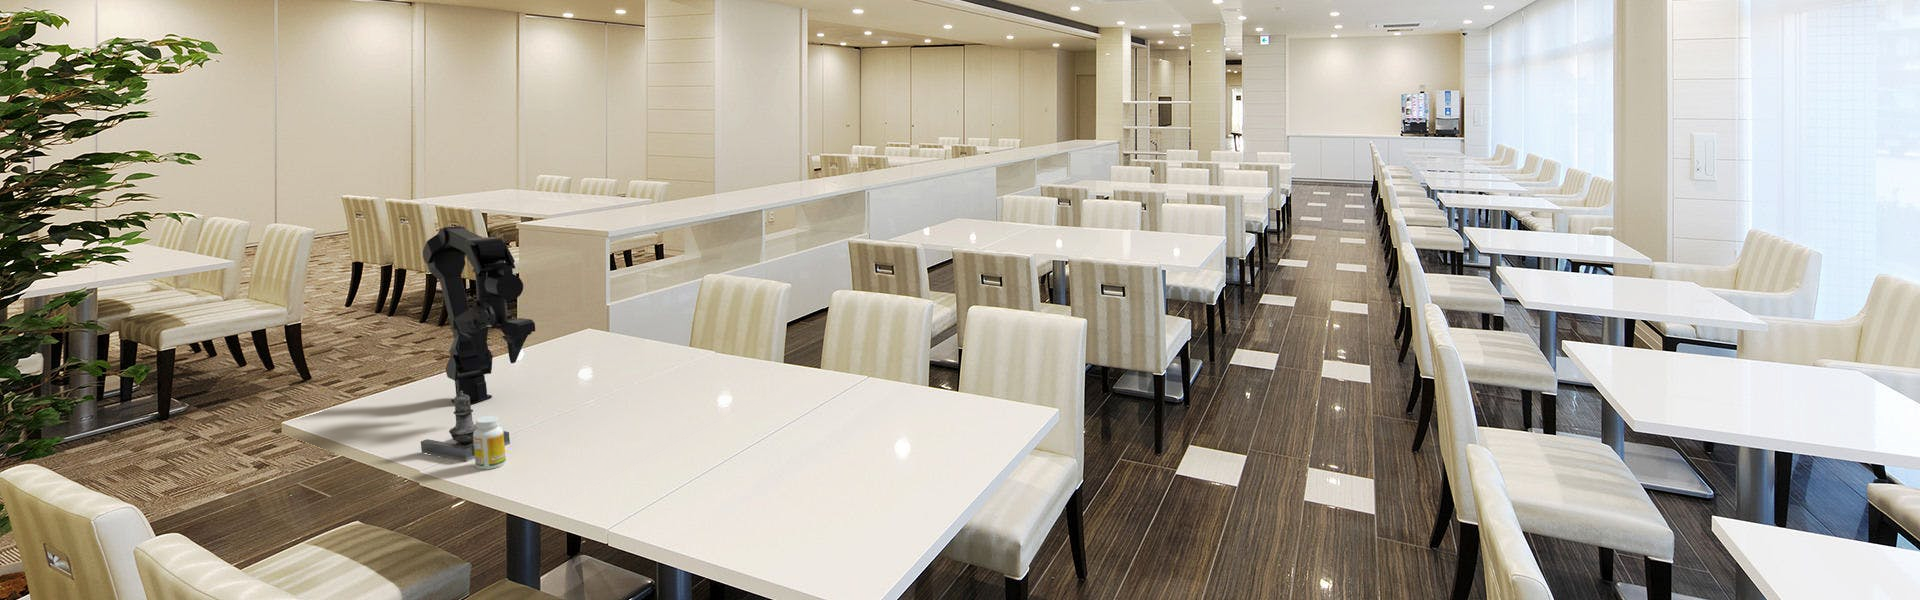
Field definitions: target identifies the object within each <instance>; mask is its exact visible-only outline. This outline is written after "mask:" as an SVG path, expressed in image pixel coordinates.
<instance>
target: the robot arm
mask: <svg viewBox="0 0 1920 600" xmlns="http://www.w3.org/2000/svg"><path fill="white" fill-rule="evenodd" d="M422 258H423V261H424V263H425V264H426V265H427V269H428V271H429V273H430V274H431V275H432V276H434V277H435V278H436V279H437V280H438V281H439V283H440V288H441V293H442V296H443V300H444V303H445V309H446V311H447V315H448V319H449V320H448V321H449V323H450V328H451V330H452V334H453V340H452V344H451V346H450V349H449V355H450V356H449V359H448V361H447V364H446V367H445V373H446V376H447V378H449V380H450V379H451V380H452V381H454V384H455V395H456V396H457V395H459V394H460V391H461V390H462V391H463V394H466V395H468V396H469V397H470V405H474V404H478V403H479V402H483V401H486V400H488V399H489V400H490V399H491V398H493V395H492V394H488V389H487V381H486V377H485V375H491V374H492V370H493V358H494V357H493V354H492V351H491V350H490V349H489V346H488V336H489V335H488V333H489V329H494V330H495V329H497V330H501V332H502V333H503V335H502V336H501V337H502V339H503V340H505V342H506V343H507V345H506V346H507V350H508V358H509V361H510V362H509V363H510V364H515V363H516V362H517V360H518V357H519V355H520V353H521V350H522V348H523V346H524V343H525V342H526V341H527V339H528V337H529V335H530V336H531V335H532V333H533V332H536V323H535V321H534V320H533V319H531V318H523V317H522V318H521V317H519V318H514V319H513V315H512V314H510V313H508V307H507V303H509V302H511V301H514V300H516V299H518V298H519V297H520V296H521V295H522V293H523V292H524V291H523V290H524V283H523V281H522V279H521V278H520V276H518V275H516V274H514V272H513V271H514V269H516V265H515V258H514V257H513V255H512V253H511V251H510V249H509V247H508V245H507V243H506V242H504V240H503V239H502V238H501V237H497V236H496V237H493V236H492V237H489V236H488V237H487V236H486V237H484V236H483V237H482V236H481V235H478V234H476V233H475V232H472V231H470V230H468V229H466V227H464V226H461V225H453V226H443V227H442V228H441V227H440V228H439V230H438V232H437V233H436V235H434V236H433V237H431V238H430V239H428V240H427V241H426V242H425V245H424V247H423V249H422ZM466 259H467V261H468V262H469V263H470V264H471V266H472V268H473V269H472V273H474V277H475V286H476V287H475V288H476V298H477V299H473V300H472V303H471V305H472V307H471V308H470V305H469V302H468V297H467V294H466V290H465V287H464V282H463V278H462V274H463V272H464V269H465V267H466V265H467V264H466ZM456 396H455V397H456ZM455 397H454V398H452V399H450V401H451V402H452V403H455V402H454V399H455Z"/></svg>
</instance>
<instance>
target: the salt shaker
mask: <svg viewBox="0 0 1920 600" xmlns="http://www.w3.org/2000/svg"><path fill="white" fill-rule="evenodd" d="M454 398H455V399H454ZM454 398H453V399H454V402H453V403H454V410H455V411H453V414H454V415H455V426H454V427H452V428H450V429H449V431H448V433H449V434H450V436H451V438H452V439H454V440H455V441H457V443H455V444H458V445H463V446H469V447H471V449H472V448H474V441H473V433H474V431H475V430H476V429H478V428H477V427H476V423H474V419H473V412H474V409H472V408H471V407H472V406H471V404H470V397H469V396H468V395H466V394H463V391H462V390H461V391H460V394H459V395H457V396H455V397H454Z"/></svg>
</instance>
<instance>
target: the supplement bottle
mask: <svg viewBox="0 0 1920 600" xmlns="http://www.w3.org/2000/svg"><path fill="white" fill-rule="evenodd" d="M475 424H476V427H477V428H478V429H476V430H475V431H474V433H473V441H474V452H475V458H474V461H475V467H476V468H477V469H479V470H493V469H497V468H500V467H503V466H504V465H505V464H506V462H507V460H506V459H507V457H506V449H505V448H506V447H505V446H506V445H504V433H503V431H504V430H503V429H504V428H503V427H501V426H499V424H500V420H499V416H496V415H487V416H485V415H484V416H482V417H479V418H477V419H476V420H475Z"/></svg>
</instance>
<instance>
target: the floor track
mask: <svg viewBox="0 0 1920 600" xmlns="http://www.w3.org/2000/svg"><path fill="white" fill-rule="evenodd" d="M503 433H504V445H505V446H507V445H510V444H511V441H510V440H511V439H510V431H507V430H506V431H505V430H503ZM455 443H457V441H455V440H454V439H453V438H452V439H449V440H446V441H440V440H435V439H429V438H427V439H424V440H421V441H420V449H421V454H422V453H427V454H431V455H430V456H432V455H435V456H434V457H438V456H440V457H439V458H443V457H444V458H445V459H450V460H456V461H460V462H469V461H471V460H475V452H474V448H472V449H471V447H469V446H463V445H458V444H455ZM427 454H426V455H427Z"/></svg>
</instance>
